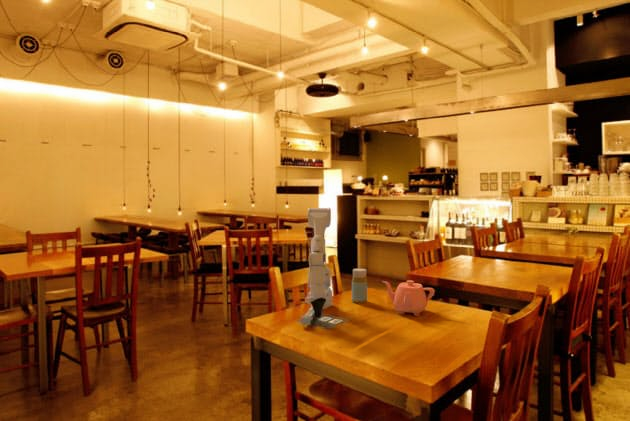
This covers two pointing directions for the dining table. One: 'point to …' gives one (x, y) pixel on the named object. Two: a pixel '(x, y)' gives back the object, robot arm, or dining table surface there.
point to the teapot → (409, 297)
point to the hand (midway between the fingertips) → (317, 317)
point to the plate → (326, 324)
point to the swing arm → (308, 316)
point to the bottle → (359, 286)
